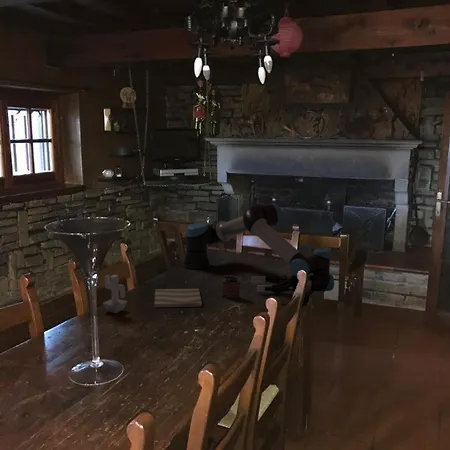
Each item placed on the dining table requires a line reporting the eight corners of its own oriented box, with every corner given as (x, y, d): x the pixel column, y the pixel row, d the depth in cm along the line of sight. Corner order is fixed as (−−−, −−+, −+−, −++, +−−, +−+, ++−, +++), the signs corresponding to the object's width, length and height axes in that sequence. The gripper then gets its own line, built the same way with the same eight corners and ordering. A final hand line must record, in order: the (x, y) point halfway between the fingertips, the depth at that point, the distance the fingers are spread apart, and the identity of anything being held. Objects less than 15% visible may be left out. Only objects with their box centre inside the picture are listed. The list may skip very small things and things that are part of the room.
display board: (155, 292, 232) (155, 289, 231) (198, 291, 234) (198, 288, 234) (154, 307, 212) (154, 303, 212) (201, 306, 215) (201, 303, 214)
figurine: (118, 315, 202) (118, 279, 199) (100, 311, 206) (99, 275, 203) (129, 309, 208) (129, 274, 206) (111, 306, 212) (111, 271, 210)
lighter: (239, 296, 229) (240, 275, 228) (239, 298, 226) (239, 277, 224) (222, 295, 230) (222, 274, 228) (221, 297, 227) (222, 276, 225)
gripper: (307, 300, 219) (259, 300, 217) (292, 283, 244) (249, 283, 241) (308, 283, 218) (259, 284, 215) (293, 268, 242) (249, 268, 240)
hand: (254, 283), depth 228 cm, fingers open, 13 cm apart
